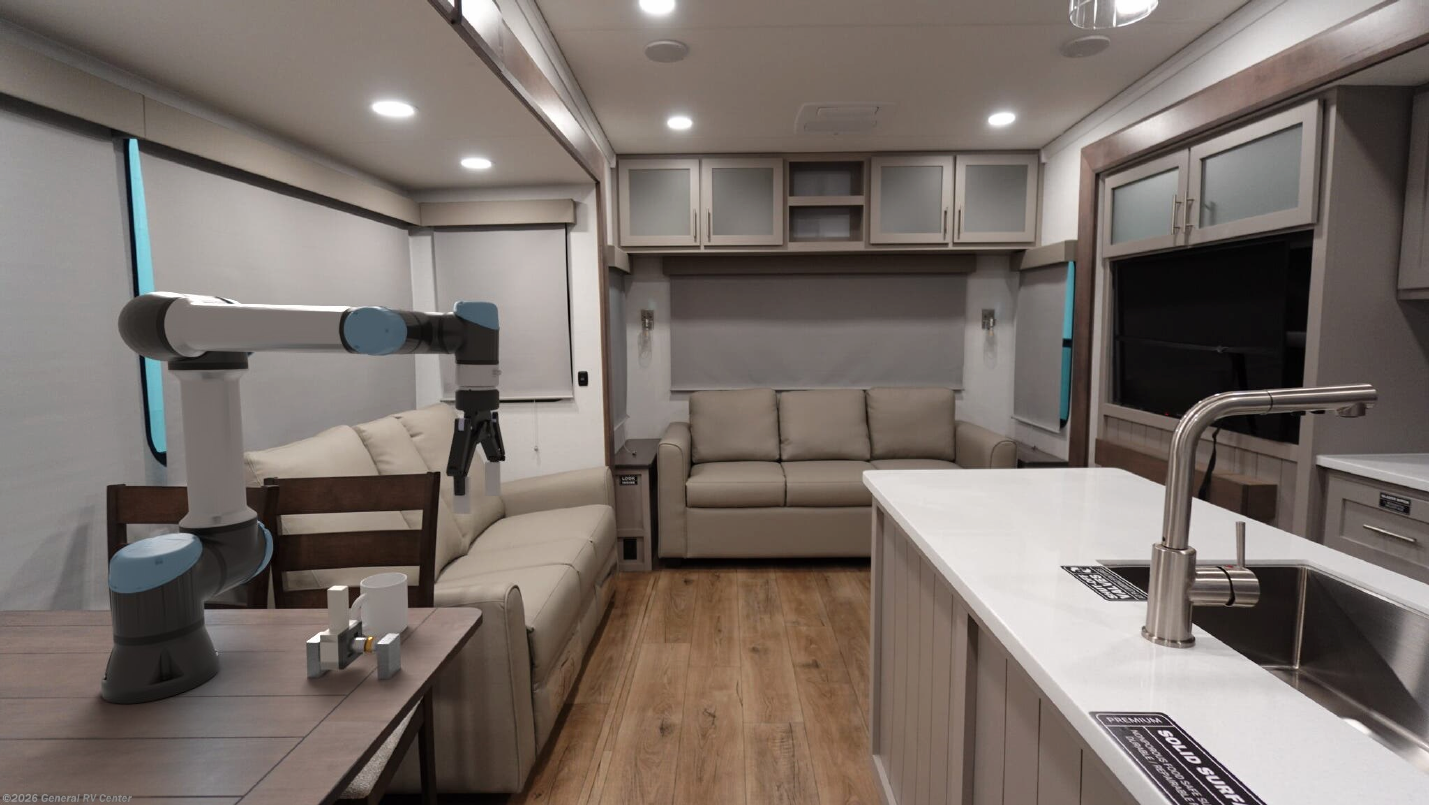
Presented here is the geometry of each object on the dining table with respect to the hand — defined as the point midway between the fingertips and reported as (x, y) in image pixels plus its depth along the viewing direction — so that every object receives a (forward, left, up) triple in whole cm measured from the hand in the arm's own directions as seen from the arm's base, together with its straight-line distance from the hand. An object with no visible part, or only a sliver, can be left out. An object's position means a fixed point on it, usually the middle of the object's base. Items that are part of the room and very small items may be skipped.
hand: (478, 504), depth 120 cm
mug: (-22, +6, -28) cm, 36 cm away
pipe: (-18, -9, -28) cm, 35 cm away
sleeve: (-20, -9, -26) cm, 34 cm away
